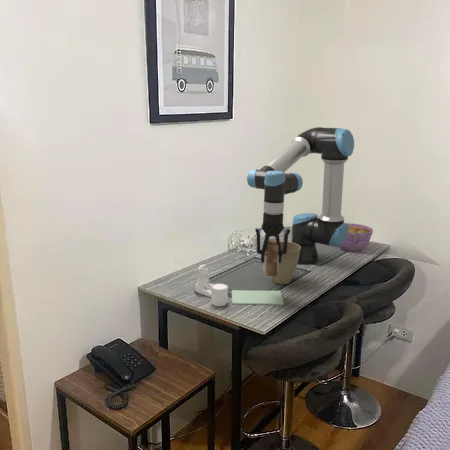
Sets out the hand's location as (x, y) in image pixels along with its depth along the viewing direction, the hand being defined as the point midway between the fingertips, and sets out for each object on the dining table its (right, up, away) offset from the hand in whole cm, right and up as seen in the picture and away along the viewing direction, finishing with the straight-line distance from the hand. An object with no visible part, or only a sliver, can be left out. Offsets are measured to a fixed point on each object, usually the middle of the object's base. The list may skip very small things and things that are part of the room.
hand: (270, 270), depth 178 cm
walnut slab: (0, -1, 0) cm, 1 cm away
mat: (-5, -11, +3) cm, 13 cm away
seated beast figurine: (-26, -10, +8) cm, 29 cm away
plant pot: (+7, -7, +21) cm, 23 cm away
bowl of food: (+50, +5, +65) cm, 82 cm away
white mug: (-20, -13, -2) cm, 24 cm away
